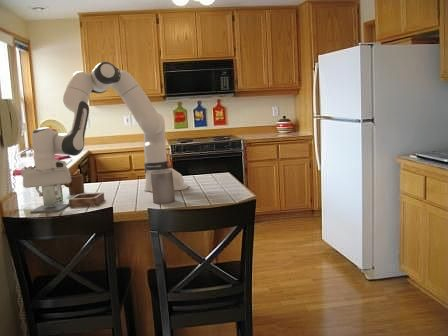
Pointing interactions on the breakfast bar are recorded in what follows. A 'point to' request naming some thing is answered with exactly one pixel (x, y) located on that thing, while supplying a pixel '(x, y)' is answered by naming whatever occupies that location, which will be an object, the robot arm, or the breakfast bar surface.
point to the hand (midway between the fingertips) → (49, 195)
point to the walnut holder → (86, 199)
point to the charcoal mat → (50, 208)
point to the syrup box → (60, 195)
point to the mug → (76, 184)
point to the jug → (49, 195)
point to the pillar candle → (162, 186)
